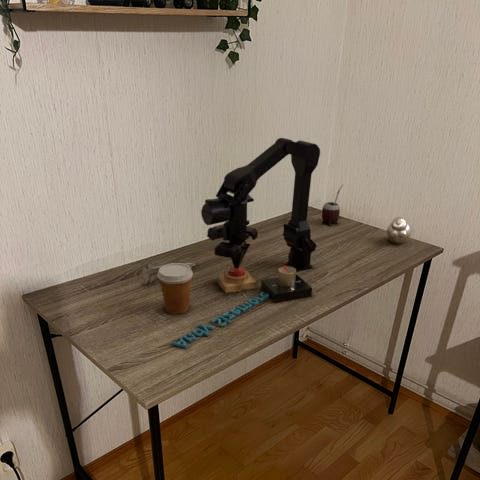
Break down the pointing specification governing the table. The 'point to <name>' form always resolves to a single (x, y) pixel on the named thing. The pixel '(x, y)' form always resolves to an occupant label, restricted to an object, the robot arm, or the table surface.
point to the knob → (286, 276)
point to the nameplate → (205, 327)
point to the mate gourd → (331, 211)
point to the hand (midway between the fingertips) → (236, 268)
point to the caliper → (155, 272)
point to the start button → (236, 272)
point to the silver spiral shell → (399, 230)
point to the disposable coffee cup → (175, 286)
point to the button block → (236, 282)
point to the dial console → (286, 290)
